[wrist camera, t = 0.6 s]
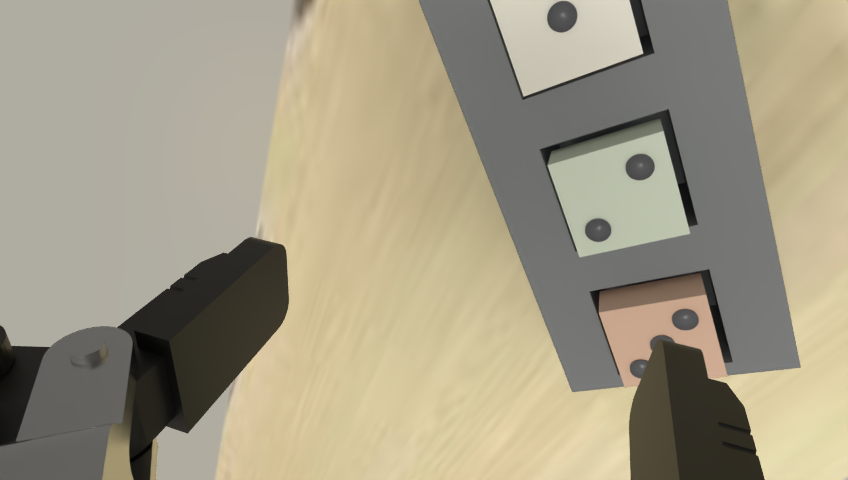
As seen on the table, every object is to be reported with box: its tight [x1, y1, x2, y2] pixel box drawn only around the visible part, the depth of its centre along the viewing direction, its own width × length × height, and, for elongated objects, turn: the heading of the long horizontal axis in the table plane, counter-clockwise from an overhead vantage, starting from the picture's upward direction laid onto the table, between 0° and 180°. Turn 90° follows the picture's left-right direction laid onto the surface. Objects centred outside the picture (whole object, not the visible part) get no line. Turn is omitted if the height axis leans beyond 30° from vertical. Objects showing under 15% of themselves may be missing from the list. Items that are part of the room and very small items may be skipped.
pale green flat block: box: [548, 118, 690, 257], centre depth 31 cm, size 6×6×4 cm
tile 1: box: [490, 0, 643, 96], centre depth 27 cm, size 6×6×4 cm
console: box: [419, 0, 801, 392], centre depth 34 cm, size 14×29×7 cm, turn 24°
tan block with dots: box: [599, 273, 727, 387], centre depth 34 cm, size 6×6×4 cm
